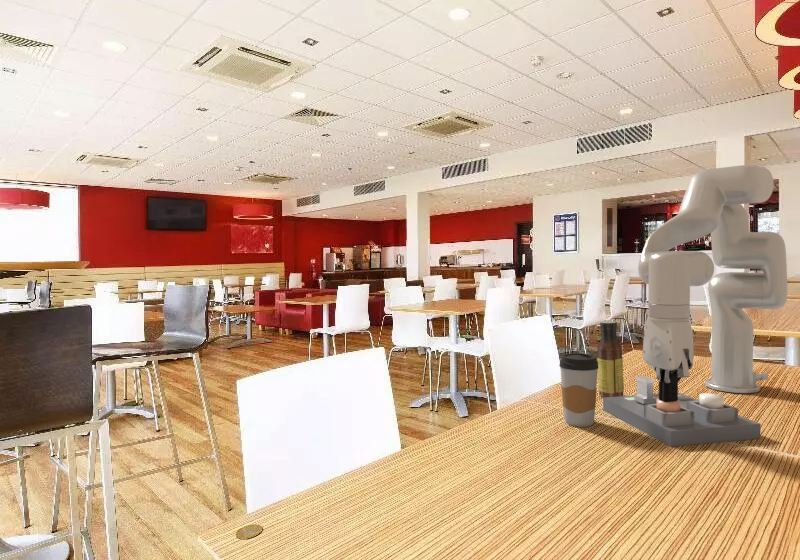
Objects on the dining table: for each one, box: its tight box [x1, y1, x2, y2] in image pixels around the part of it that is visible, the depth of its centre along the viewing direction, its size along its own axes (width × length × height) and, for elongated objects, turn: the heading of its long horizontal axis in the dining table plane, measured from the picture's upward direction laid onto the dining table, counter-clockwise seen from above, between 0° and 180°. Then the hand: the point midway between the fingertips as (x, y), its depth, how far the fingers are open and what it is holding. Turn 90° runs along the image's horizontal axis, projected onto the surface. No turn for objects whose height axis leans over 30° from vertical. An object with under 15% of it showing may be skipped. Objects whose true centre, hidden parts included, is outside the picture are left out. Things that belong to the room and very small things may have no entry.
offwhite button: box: [698, 392, 725, 409], centre depth 108 cm, size 4×4×2 cm
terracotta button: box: [657, 398, 681, 413], centre depth 106 cm, size 4×4×2 cm
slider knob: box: [633, 374, 656, 404], centre depth 118 cm, size 3×4×6 cm
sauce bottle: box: [596, 320, 625, 398], centre depth 134 cm, size 7×6×20 cm
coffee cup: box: [558, 352, 599, 428], centre depth 115 cm, size 8×8×15 cm
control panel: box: [602, 391, 762, 447], centre depth 113 cm, size 20×24×6 cm
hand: (668, 400), depth 106 cm, fingers closed
